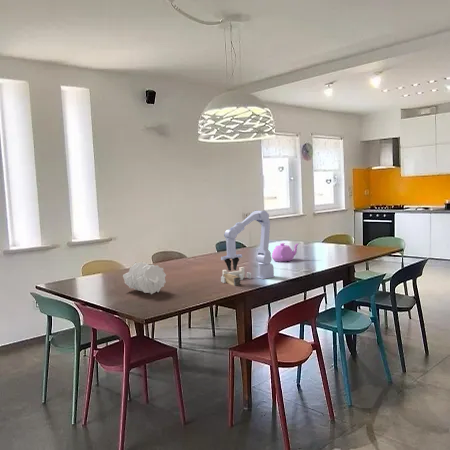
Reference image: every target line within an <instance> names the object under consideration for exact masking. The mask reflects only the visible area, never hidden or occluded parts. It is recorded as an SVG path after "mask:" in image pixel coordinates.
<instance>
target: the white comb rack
mask: <svg viewBox="0 0 450 450" xmlns="http://www.w3.org/2000/svg"><path fill="white" fill-rule="evenodd" d="M238 268H239V270H234V271H228V269H222V271H221V272H222V276H220V282H221V283H223V284H227V283H226V281H225V277H223V274H231V275H234V276H238V277H240V281H243V280H244V279H245V276H246V278H247V279H252V272H248V271H247V272H246V274H245V267H244V266H239V267H238Z"/></svg>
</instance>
